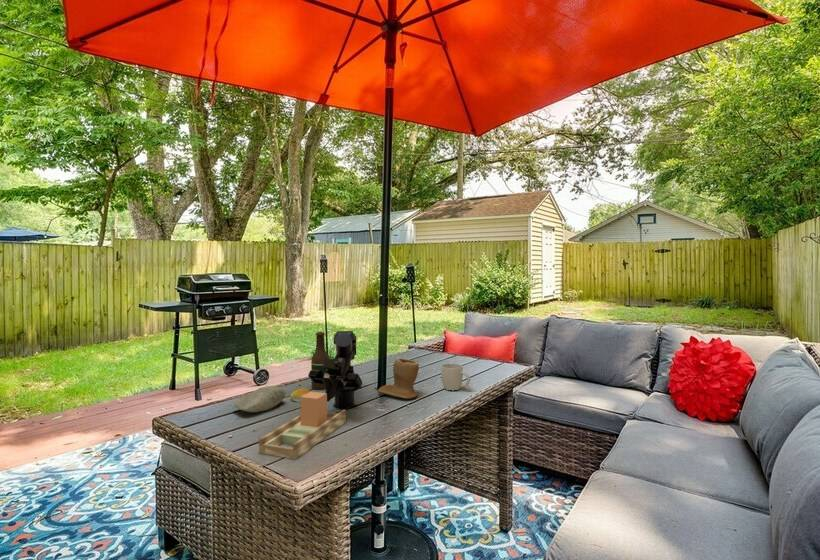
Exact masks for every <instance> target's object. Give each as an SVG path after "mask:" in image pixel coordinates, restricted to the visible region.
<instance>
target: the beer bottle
mask: <svg viewBox="0 0 820 560" xmlns="http://www.w3.org/2000/svg"><path fill="white" fill-rule="evenodd" d="M315 337H316V341H315V342H316V343H315V351H314V353H313V354H312V357H311V361H310V362H311V365H310V366H311V367H310V368H311V369H310V371H311V370H321V371H322V373H323V374H329V373H327V372H326V369H325V368H322V367H323V362H324V359H330V356H329V354H328V352H327V351H326V346H325V345H326V344H325V332H324V331H318V332H316V334H315ZM311 389H312V390H314V391H325V390H326V387H325V383H323V384H322V385H321V384H314V383H313V382H312V381H311Z"/></svg>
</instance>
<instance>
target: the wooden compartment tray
mask: <svg viewBox="0 0 820 560" xmlns="http://www.w3.org/2000/svg"><path fill="white" fill-rule="evenodd" d="M346 422H347V409H341V410H340V411H339V412H330V411H329V412H328V411H327V421H326V422H324V423H323V424H322V425H320V426H319V427H310V426H303V425H301V414H299V415H297V416H296V417H294V418H292V419H291V420H289V421H287V422H286V423H284V424H282V425H281V426H279V427H277V428H275V429H274V430H272V431H270V432H268V433H267V434H266V435H265V434H264V436H262V437H260V438H259V439H258V453H259V454H263V455H268V456H272V457H273V456H275V457H280V458H281V457H282V458H286V459H293V460H297V459H298V458H300V457H301V456H302V455H303V454H304V453H306V452H307V451H309V450H311V449H312V448H313V447H314V446H316V445H317V444H318V443H320V442H321V441H322V440H324V439H325V438H326V437H327V436H329V435H330V434H331V433H333V432H334V431H335V430H336V429H338V428H340V427H341V426H342V425H344V424H345V423H346ZM281 444H285V445H292V446H291V447H289V446H284V445H283V446H282V445H281Z"/></svg>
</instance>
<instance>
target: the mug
mask: <svg viewBox="0 0 820 560" xmlns="http://www.w3.org/2000/svg"><path fill="white" fill-rule="evenodd" d="M463 368H464V367H463V365H462V364H459V363H444V364H442V365H441V368H440V370H441V373H440V374H441V376H440V377H441V383H442V386H443V387H442V388H443V389H444V390H445V389H446V390H445V391H448V390H452V391H451V392H455V391H454V390H457V391H459V390H460V389H461V388H465V387H468V386H469V384H470V383H471V377H470V375H469V374H468V373H467V372H466V371H463ZM463 375H464V376H465V377H466V383H463V379H464V378H463V377H464V376H463Z"/></svg>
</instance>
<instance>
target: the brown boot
mask: <svg viewBox="0 0 820 560" xmlns="http://www.w3.org/2000/svg"><path fill="white" fill-rule="evenodd" d="M419 368H420V367H419V363H418V362H417V361H415V360H413V359H406V358H399V357H398V358H396V359H395V360H394V363H393V369H392V371H393V380H394V382H393V384H384V385H382V386H381V387H379V388H378V392H379V393H382V394H385V395H387V396H391V397H394V398H395V397H396V398H402V399H414V398H416V397H418V395H419V392H417V391H416V390H415V389H414V385H415V382H416V379H417V377H418V373H419V370H420V369H419Z"/></svg>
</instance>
